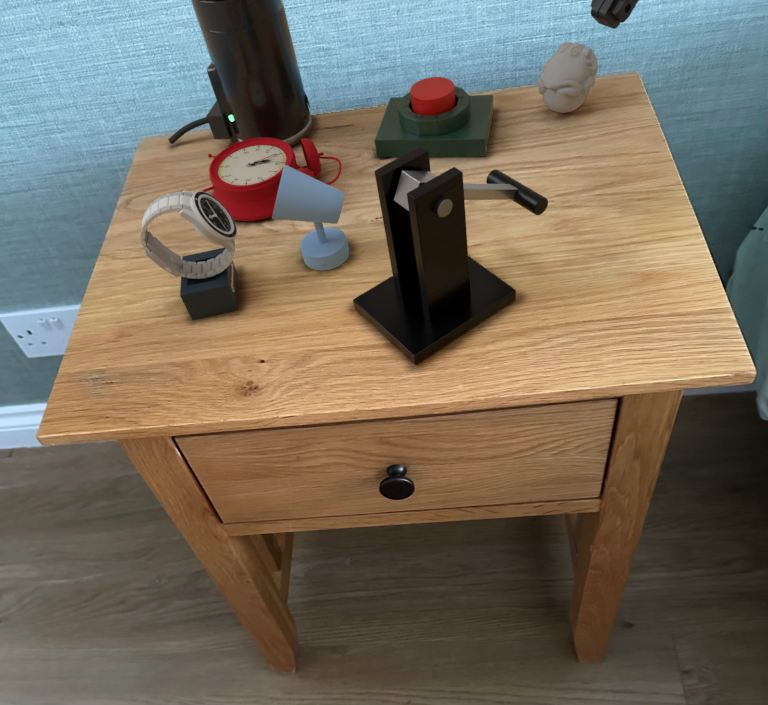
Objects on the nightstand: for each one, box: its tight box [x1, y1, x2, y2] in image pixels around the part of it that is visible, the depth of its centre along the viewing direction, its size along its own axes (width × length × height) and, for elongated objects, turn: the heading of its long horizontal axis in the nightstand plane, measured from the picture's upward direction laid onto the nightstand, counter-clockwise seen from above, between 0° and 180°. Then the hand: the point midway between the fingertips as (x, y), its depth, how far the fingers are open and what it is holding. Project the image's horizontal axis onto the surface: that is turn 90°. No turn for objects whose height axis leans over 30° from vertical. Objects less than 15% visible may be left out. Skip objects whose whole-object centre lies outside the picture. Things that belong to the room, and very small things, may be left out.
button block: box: [374, 85, 495, 158], centre depth 77 cm, size 12×9×4 cm
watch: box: [140, 189, 239, 321], centre depth 62 cm, size 6×8×11 cm
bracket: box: [352, 146, 517, 366], centre depth 56 cm, size 11×9×14 cm
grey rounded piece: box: [537, 41, 599, 114], centre depth 76 cm, size 6×7×7 cm
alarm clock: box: [201, 137, 343, 222], centre depth 74 cm, size 10×6×15 cm
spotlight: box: [271, 164, 350, 271], centre depth 64 cm, size 5×10×7 cm
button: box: [409, 76, 456, 115], centre depth 76 cm, size 5×5×2 cm
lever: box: [394, 168, 549, 216], centre depth 55 cm, size 13×6×2 cm, turn 126°
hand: (602, 21), depth 53 cm, fingers closed
